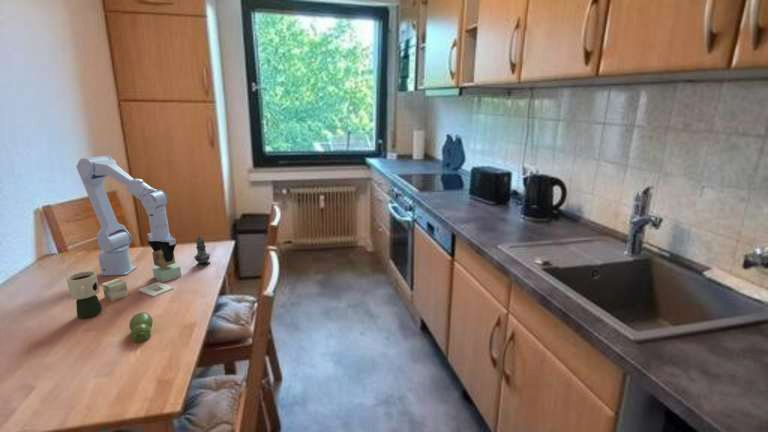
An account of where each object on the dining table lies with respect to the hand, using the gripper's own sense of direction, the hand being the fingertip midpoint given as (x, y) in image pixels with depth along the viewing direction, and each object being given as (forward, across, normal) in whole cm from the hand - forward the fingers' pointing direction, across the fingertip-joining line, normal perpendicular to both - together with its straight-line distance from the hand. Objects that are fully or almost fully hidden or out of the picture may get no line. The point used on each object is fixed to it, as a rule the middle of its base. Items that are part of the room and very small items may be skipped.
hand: (164, 259), depth 147 cm
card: (+7, +7, -8) cm, 13 cm away
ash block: (+7, 0, -18) cm, 19 cm away
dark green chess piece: (+7, +1, +14) cm, 16 cm away
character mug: (+7, +6, -28) cm, 30 cm away
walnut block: (+2, 0, 0) cm, 2 cm away
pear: (+7, +31, -26) cm, 41 cm away
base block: (+7, 0, 0) cm, 7 cm away
